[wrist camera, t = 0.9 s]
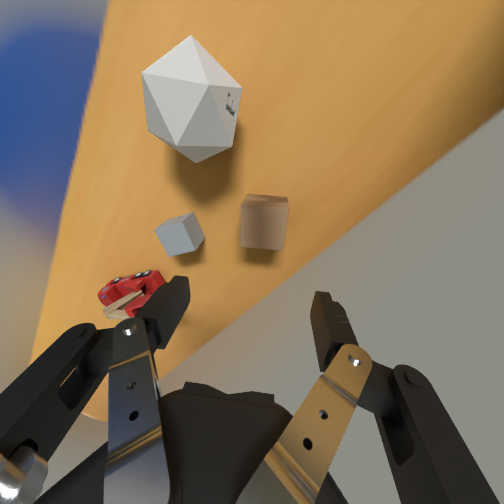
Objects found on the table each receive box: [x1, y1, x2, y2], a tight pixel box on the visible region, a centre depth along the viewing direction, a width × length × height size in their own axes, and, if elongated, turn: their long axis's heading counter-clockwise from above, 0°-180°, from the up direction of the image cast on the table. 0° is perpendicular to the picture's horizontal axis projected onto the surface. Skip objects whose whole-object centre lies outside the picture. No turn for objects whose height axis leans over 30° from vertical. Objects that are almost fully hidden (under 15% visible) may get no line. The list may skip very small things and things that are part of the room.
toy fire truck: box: [98, 270, 165, 320], centre depth 30 cm, size 3×14×10 cm, turn 107°
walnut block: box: [240, 194, 289, 251], centre depth 25 cm, size 5×5×5 cm
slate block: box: [154, 212, 205, 257], centre depth 27 cm, size 4×4×4 cm
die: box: [141, 35, 242, 163], centre depth 19 cm, size 8×9×10 cm
